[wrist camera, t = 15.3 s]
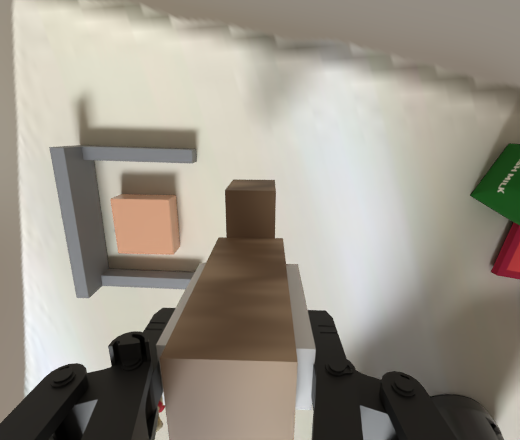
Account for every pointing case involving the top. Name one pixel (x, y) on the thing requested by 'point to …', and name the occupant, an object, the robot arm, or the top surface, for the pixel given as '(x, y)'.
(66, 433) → the robot arm
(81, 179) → the frame
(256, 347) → the stepped wooden beam
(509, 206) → the milk carton
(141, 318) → the top surface
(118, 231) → the salmon square block
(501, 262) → the red board with handle
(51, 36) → the top surface
